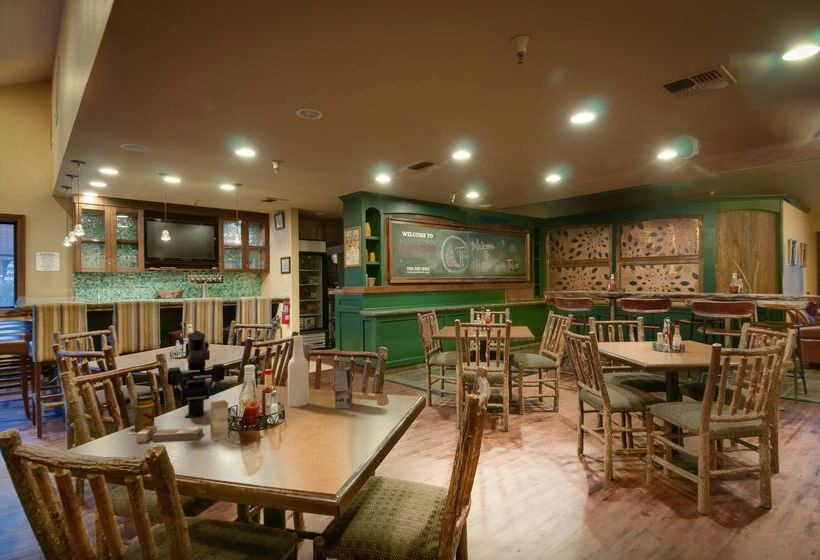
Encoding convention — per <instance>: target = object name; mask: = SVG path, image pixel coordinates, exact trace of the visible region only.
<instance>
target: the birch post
mask: <svg viewBox="0 0 820 560" xmlns="http://www.w3.org/2000/svg"><path fill="white" fill-rule="evenodd" d="M209 403H210V405H209V406H210V407H209V409H210V412H209V414H210V416H209V417H210V422H209V424H210V428H209V429H210V430H209V432H210V433H209V434H210V435H209V436H210V437H211V438H212V439H213V440H212V439H211V438H210V439H211V440H212V441H220V440H224V439H229V434H228V433H229V427H228V426H229V425H228V424H229V423H228V422H229V402H228V401H226V400H225V399H222V400H217V401H215V400H214V401H210V402H209Z"/></svg>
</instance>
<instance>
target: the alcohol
mask: <svg viewBox="0 0 820 560" xmlns="http://www.w3.org/2000/svg"><path fill="white" fill-rule="evenodd" d="M303 337H304V336H303V335H294V336H293V347H292V350H293V351H292V356H291V358H290V359H289V361H288V364H287V405H288V406H289V407H290V406H291V407H290V408H292V407H293V408H302V407H301V406H303V407H306V406H307V405H308V404H309V400H310V399H309V393H310V392H309V390H310V389H309V387H310V386H309V385H310V384H309V381H310V380H309V379H310V378H309V374H310V373H309V367H310V366H309V361H308V359H307V358H306V357H305V353H304V338H303ZM305 405H306V406H305Z"/></svg>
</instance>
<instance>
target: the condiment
mask: <svg viewBox="0 0 820 560" xmlns="http://www.w3.org/2000/svg"><path fill="white" fill-rule="evenodd" d="M147 426H156V425H155V402H154V396H153V395H152V394H151V395H150V394H146V395H140V396H137V397H136V403H135V406H134V428H133V427H129V428H127V435H137V433H138V432H140V431H141V430H143V429H144V428H146V427H147Z"/></svg>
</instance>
